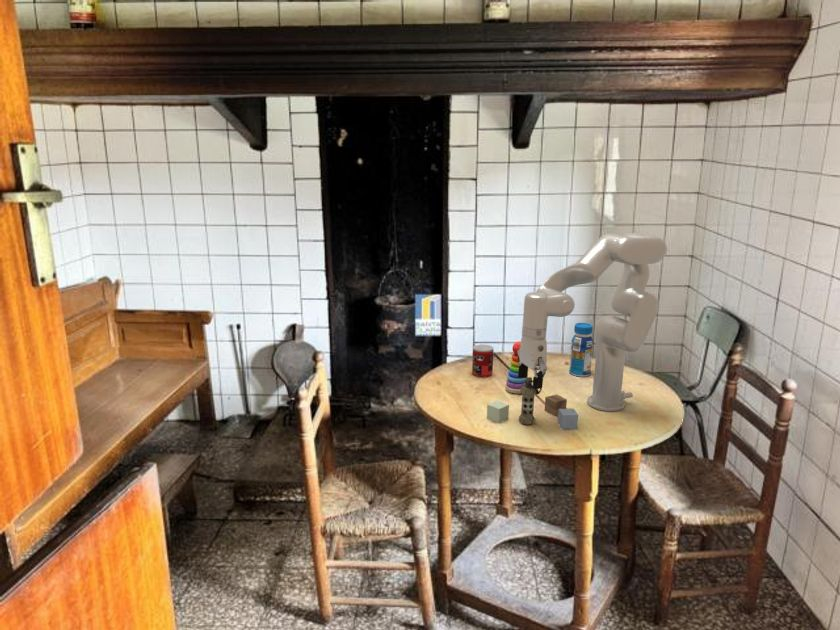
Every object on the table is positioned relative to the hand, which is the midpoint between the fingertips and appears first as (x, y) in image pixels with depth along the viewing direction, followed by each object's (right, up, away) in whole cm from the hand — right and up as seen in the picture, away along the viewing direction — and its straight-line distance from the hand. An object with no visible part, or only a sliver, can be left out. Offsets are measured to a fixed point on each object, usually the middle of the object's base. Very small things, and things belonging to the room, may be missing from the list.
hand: (529, 383), depth 204 cm
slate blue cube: (+12, -14, +1) cm, 19 cm away
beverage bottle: (+28, -1, +46) cm, 54 cm away
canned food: (-11, -1, +45) cm, 46 cm away
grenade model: (0, -13, +4) cm, 14 cm away
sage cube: (-10, -12, +6) cm, 17 cm away
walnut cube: (+11, -11, +11) cm, 19 cm away
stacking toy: (0, -6, +29) cm, 30 cm away
